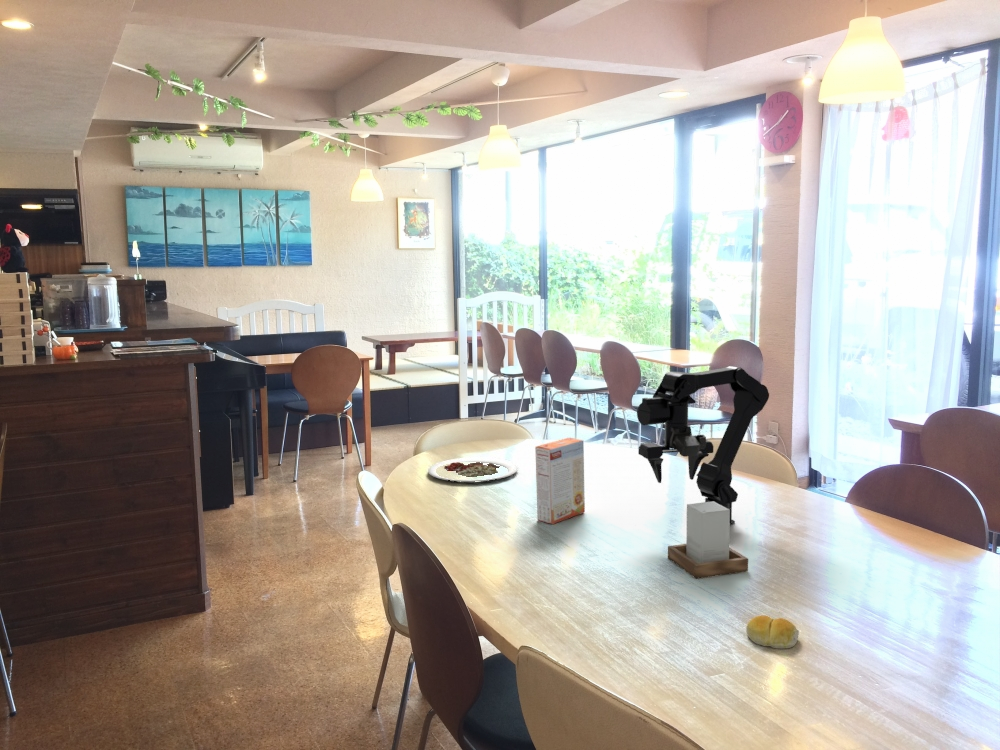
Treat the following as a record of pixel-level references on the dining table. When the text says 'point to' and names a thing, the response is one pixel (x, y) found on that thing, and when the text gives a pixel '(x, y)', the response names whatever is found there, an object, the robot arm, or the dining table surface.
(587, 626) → the dining table surface
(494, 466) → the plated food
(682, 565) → the tray
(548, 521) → the cracker box
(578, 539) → the dining table surface
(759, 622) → the bread roll
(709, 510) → the supplement box
